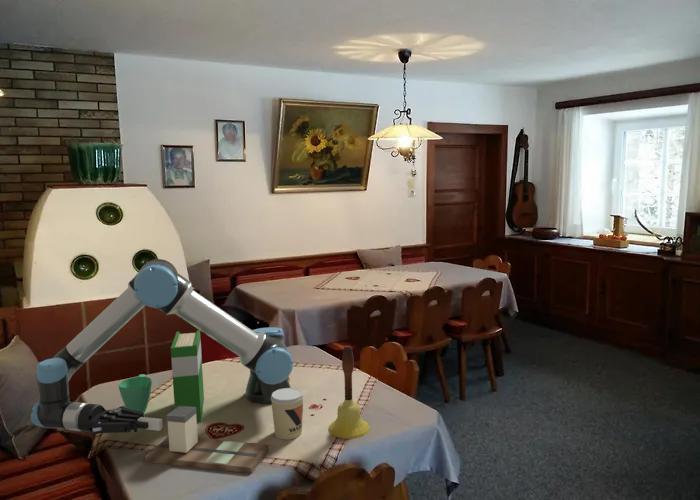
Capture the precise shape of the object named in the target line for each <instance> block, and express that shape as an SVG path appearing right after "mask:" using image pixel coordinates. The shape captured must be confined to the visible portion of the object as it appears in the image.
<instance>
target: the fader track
mask: <svg viewBox="0 0 700 500" xmlns="http://www.w3.org/2000/svg"><path fill="white" fill-rule="evenodd" d="M269 451H270V444H265V443H256V442H255V443H254V442H244V441H236V440H235V441H233V440H224V439H213V438H204V437H203V438H202V437H198V442H197V443H196V444H195V445H194V446H193V447H192V448H191V449H190V450H189V451H188V452H187V453H184V452H175V451H170V449H169V435H168V436H167V437H166V438H164V439H163V440H162V441H161V442H160V443H158V444H157V445H156V446H155V447H154V448H152V449H151V451H149V452H148V453H147V454H146V455H145V456H144V462H145V463H153V464H154V463H155V464H163V465H170V466H171V465H172V466H180V467H181V466H182V467H191V468H200V469H208V470H215V471H217V470H218V471H226V472H228V471H229V472H237V473H246V474H253V472H254V471H255V470H256V468H257V467H258V466H259V464H260V463H261V462H262V461H263V459H264V458H265V456H266V455H267V454H268V452H269Z"/></svg>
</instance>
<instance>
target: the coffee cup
mask: <svg viewBox="0 0 700 500" xmlns="http://www.w3.org/2000/svg"><path fill="white" fill-rule="evenodd" d="M304 396H305V395H304V393H303V391H302V390H301V389H299V388H294V387H290V388H283V389H279V390H276V391H274V392H273V393H272V395H271V401H272V403H271V410H272V418H273V419H272V420H273V427H274V434H275V436H276V438H277V439H281V440H293V439H297V438H299V437H300V436H301V435H302V433H303V416H304V415H303V412H304Z"/></svg>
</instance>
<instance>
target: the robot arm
mask: <svg viewBox="0 0 700 500" xmlns="http://www.w3.org/2000/svg"><path fill="white" fill-rule="evenodd" d="M145 306H146V307H149V308H154V309H157V310H159V311H161V312H162V313H163V314H164V315H166V316H168V315H176V316H177V317H179V318H181V319H182V320H184V321H185V322H187V323H188V324H190V325H191V326H193V327H195V329H197V330H200V332H202V333H203V334H205V335H206V336H208V337H210V339H212V340H214V341H216V343H219V345H222V346H223V347H225V349H227V350H229V351H231V352H232V353H233V354H235V355H237V356H238V357H240V362H241V365H242V366H243V367H246V368H247V369H249V377H248V381H247V384H246V388H245V398H246V399H247V400H248V401H250V402H253V403H256V404H272V401H271V395H272V393H273V392H274V391H276V390H279V389H283V388H291V385H290V382H289V379H288V378H289V376H290V375H291V374H292V371H293V367H294V361H293V356H292V353H291V352H290V351H289V349H288V348H287V346H286V344H285V342H284V340H285V339H284V337H285V334H284V331H283V329H282V328H280V327H275V326H274V327H272V326H271V327H260V328H256V329H251V328H249V327H248V326H246V325H245V324H243V322H241V321H239V320H238V319H237V318H235V317H234V316H232V315H230V314H229V313H227V312H226V311H225V310H223V309H221V308H220V307H219V306H217V305H216V304H214V303H213V302H211V301H210V300H209V299H206V298H205V297H204V296H202V294H200V293H198V292H197V291H195V290H194V289H193V285H192V282H191V281H190V280H189V279H187V278H186V277H185V276H183V275H181V274H180V273H178V271H177V268H176V267H175V265H174V264H173V263H171V262H170V261H168V260H166V259H161V258H159V259H158V258H156V259H152V260H149V261H147V262H146V263H144V264H143V265H142V267H141V268H140V269H139V271H138V272H137V273H136V275H134V277H133V278H132V279H131V280H130V281H129V282H128V283H127V288H126V289H125V290H124V291H122V293H121V294H120V295H118V296H117V297H116V299H114V300H113V301H112V302H111V303H110V304H109V305H108V306H107V307H106V308H105V309H104V310H102V312H101V313H100V314H98V315H97V316H96V317H95V318H94V319H93V320H92V321H91V322H90V323H89V324H88V325H87V326H86V327H84V328H83V329H82V330H81V332H79V333H78V334H77V335H76V336H75V337H74V338H73V339H72V340H71V341H70V342H68V344H66V346H65V347H63V348H62V349H61V350H60V351H58V352H57V353H55V355H53V357H52V358H47V359H44V360H43V361H40V362H38V364H36V380H37V389H38V398H39V399H38V401H36V402H35V403H34V405H33V407H32V408H31V410H32V411H31V413H30V420H31V422H32V424H33V425H35V426H36V427H41V428H45V429H55V430H57V429H58V430H59V429H60V430H66V431H67V430H68V431H69V430H70V431H76V432H86V433H92V434H93V435H98V434H99V435H100V434H117V433H118V434H119V433H120V434H121V433H122V434H123V433H128V434H129V433H131V432H132V431H133V433H137V432H138V429H140V430H147V431H148V430H149V431H158V432H160V431H162V430H163V418H156V417H149V416H148V417H147V416H145V413H143V412H139V411H135V410H131V409H127V408H126V406H125V405H124V406H123V405H122V406H119V408H118V409H117V410H114V409H105V407H104V406H103V405H101V404H98V403H97V404H96V403H87V402H86V403H85V402H76V401H75V402H74V401H70V389H69V381H70V380H71V379H72V378H73V375H74V374H75V373H76V372H77V371H78V370H79V369H80V368H81V367H82V366H83V365H84V364H85V363H86V362H87V361H88V360H89V359H90V358H91V357H93V355H94V354H95V353H96V352H98V351H99V350H100V349H101V348H102V347H103V346H104V345H105V344H106V343H107V342H108V341H109V340H111V339H112V338H113V337H114V336H115V335H116V334H117V333H118V332H119V331H121V329H122V328H124V326H125V325H126V324H127V323H128V322H129V321H130V320H132V319H133V318H134V317H135V316H136V315H137V314H138V313H139V312H140V311H141V310H142V309H143V308H145Z"/></svg>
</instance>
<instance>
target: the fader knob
mask: <svg viewBox="0 0 700 500" xmlns="http://www.w3.org/2000/svg"><path fill="white" fill-rule="evenodd" d="M196 413H197V411H196V407H189V406H178V407H177V408H175V407H174V409H173V410H172V411H170V412H169V413H168V414H167V415H166V422H167V432H168V436H169V449H170V451H175V452H184V453H187V452H188V451H189V450H190V449H191V448H192V447H193V446H194V445H195V444H196V443H197V442H198V438H199V437H198V424H197V423H198V422H197V419H196Z"/></svg>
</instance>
